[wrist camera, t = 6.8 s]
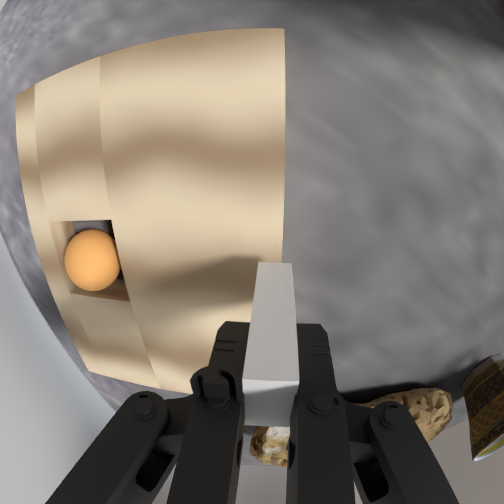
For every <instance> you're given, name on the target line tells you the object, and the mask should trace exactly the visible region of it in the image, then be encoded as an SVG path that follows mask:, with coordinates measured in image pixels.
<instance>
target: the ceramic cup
mask: <svg viewBox="0 0 504 504" xmlns="http://www.w3.org/2000/svg"><path fill="white" fill-rule="evenodd" d="M462 390H463V395H464V398H465V403H466V408H467V412H468V418H469V426H470V443H471V452H472V459H473V461H477V460H480V459H482V458H485V457H487V456H489V455H490V454H492V453H494V452H495V451H497V450H499V449H500V448H502V447H503V446H504V356H503V355H501V354H499V355H494V356H490V357H489V358H488V359H486V360H485V361H484V362H482V363H481V364H480V365H478V366H477V367H476V368H474V369H473V370H472V372H471V373H470V374H469V376H468V377H467V378H466V380H465V381H464V382H463V384H462Z"/></svg>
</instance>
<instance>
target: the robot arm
mask: <svg viewBox="0 0 504 504" xmlns="http://www.w3.org/2000/svg"><path fill="white" fill-rule="evenodd" d="M190 384H191V388H192V391H193V394H192V395H190V396H187V397H183V398H176V399H166V400H163V398H162V397H161V396H159V395H158V394H156V393H154V392H150V391H141V392H137V393H135V394H132V395H131V396H130V397H129V398H128V399H127V400H126V401H125V402H124V403H123V405H122V406H121V407H120V408H119V410H118V411H117V412H116V413H115V415H114V416H113V417H112V418H111V420H110V421H109V422H108V424H107V425H106V426H105V427H104V429H103V430H102V431H101V433H100V434H99V435H98V436H97V438H96V439H95V440H94V441H93V443H92V444H91V445H90V447H89V448H88V449H87V450H86V452H85V453H84V454H83V456H82V457H81V458H80V459H79V461H78V462H77V463H76V464H75V466H74V467H73V468H72V470H71V471H70V472H69V473H68V475H67V476H66V477H65V479H64V480H63V481H62V482H61V484H60V485H59V486H58V488H57V489H56V490H55V491H54V493H53V494H52V495H51V497H50V498H49V500H48V501H47V502H46V503H45V504H152V502H153V501H154V499H155V497H156V496H157V494H158V493H159V491H160V489H161V488H162V486H163V484H164V483H165V481H166V479H167V478H168V476H169V474H170V473H171V471H172V469H173V467H174V466H175V464H176V463H177V464H176V468H175V472H174V475H173V479H172V483H171V487H170V491H169V495H168V499H167V504H235V501H236V494H237V486H238V478H239V470H240V463H241V455H242V446H243V430H244V425H251V426H269V427H289V425H290V436H289V439H288V443H287V446H286V450H288V457H287V486H286V504H355V493H354V482H355V485H356V487H357V490H358V492H359V495H360V498H361V500H362V503H363V504H459V502H458V500H457V498H456V496H455V494H454V492H453V490H452V488H451V486H450V484H449V482H448V480H447V479H446V477H445V474H444V473H443V471H442V469H441V467H440V465H439V463H438V461H437V459H436V458H435V456H434V454H433V452H432V450H431V448H430V447H429V445H428V443H427V441H426V439H425V438H424V436H423V434H422V432H421V431H420V429H419V427H418V425H417V424H416V422H415V420H414V418H413V417H412V415H411V413H410V412H409V410H408V409H407V408H406V407H405V406H404V405H402V404H400V403H399V402H395V401H385V402H381V403H379V404H378V405H376V406H375V407H374V408H370V407H364V406H360V405H356V404H352V403H350V402H348V401H346V400H345V399H344V398H343V397H342V396H341V395H340V394H339V392H338V391H337V388H336V383H335V377H334V370H333V364H332V358H331V355H330V347H329V341H328V336H327V332H326V331H325V330H324V329H323V327H322V326H321V325H320V324H297V323H296V312H295V298H294V286H293V273H292V263H273V262H258V269H257V277H256V284H255V291H254V299H253V306H252V313H251V321H250V322H236V321H225V322H224V323H223V324H222V325H221V327H220V328H219V329H218V331H217V334H216V338H215V342H214V346H213V350H212V353H211V357H210V360H209V364H208V366H206V367H203V368H200V369H199V370H198V371H196V372H195V373H194V374H193V376H192V377H191V379H190Z"/></svg>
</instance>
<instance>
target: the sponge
mask: <svg viewBox="0 0 504 504" xmlns="http://www.w3.org/2000/svg"><path fill="white" fill-rule="evenodd" d="M385 401H395V402H399V403H400V404H402V405H404V406H405V407H406V408H407V409H408V410H409V412H410V413H411V415H412V417H413V418H414V420H415V422H416V424H417V425H418V427H419V429H420V431H421V432H422V434H423V436H424V438H425V439H426V441H427V443H428V442H429V441H431V440H432V439H433V438H434V437H436V436H437V435H438V434H439V433H440V432H441V431H442V430H443V429H444V428H445V426H446V425H447V424H448V423H449V421H450V420H451V419H452V416H451V410H452V405H453V404H452V398H451V394H450V393H448V392H446V391H444V390H441V389H438V388H419V389H412V390H409V391H403V392H398V393H392V394H389V395H385V396H382V397H380V398H378V399H375V400H372V401H371V402H369V403H364V404H358V403H352V404H356V405H360V406H364V407H370V408H374V407H375V406H376V405H378V404H379V403H381V402H385ZM289 436H290V425H289V427H269V426H257V427H256V429H255V432H254V435H253V437H252V438H251V444H250V450H249V451H250V454H251V456H256V459H257V460H259V461H261V462H262V463H264V464H267V465H276V466H282V467H287V457H288V450H286V446H287V443H288V439H289Z"/></svg>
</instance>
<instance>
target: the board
mask: <svg viewBox="0 0 504 504" xmlns="http://www.w3.org/2000/svg"><path fill="white" fill-rule="evenodd" d="M16 134H17V148H18V158H19V166H20V174H21V181H22V187H23V193H24V198H25V203H26V208H27V213H28V217H29V222H30V226H31V230H32V234H33V237H34V241H35V245H36V248H37V251H38V255H39V258H40V261H41V264H42V267H43V270H44V273H45V276H46V279H47V282H48V284H49V287H50V290H51V292H52V295H53V297H54V300H55V302H56V305H57V307H58V310H59V312H60V314H61V317H62V319H63V321H64V323H65V325H66V328H67V330H68V332H69V334H70V336H71V338H72V340H73V342H74V344H75V346H76V348H77V350H78V352H79V354H80V356H81V357H82V359H83V361H84V363H85V365H86V367H87V368H88V370H89V371H90V372H94V373H97V374H101V375H104V376H108V377H112V378H115V379H119V380H123V381H127V382H132V383H136V384H140V385H145V386H150V387H155V388H160V389H165V390H171V391H177V392H183V393H189V394H193V391H192V388H191V384H190V379H191V377H192V376H193V374H194V373H195V372H196V371H198V370H199V369H200V368H203V367H206V366H208V364H209V360H210V357H211V353H212V350H213V346H214V342H215V338H216V334H217V331H218V329H219V328H220V327H221V325H222V324H223V323H224V322H225V321H236V322H250V321H251V313H252V306H253V299H254V291H255V284H256V277H257V269H258V262H273V263H281V262H282V239H283V213H284V177H285V37H284V28H251V29H231V30H219V31H209V32H201V33H194V34H187V35H181V36H175V37H170V38H165V39H160V40H155V41H151V42H147V43H143V44H139V45H135V46H131V47H128V48H124V49H121V50H118V51H114V52H111V53H108V54H105V55H102V56H99V57H96V58H94V59H91V60H88V61H86V62H83V63H80V64H78V65H75V66H73V67H71V68H68V69H66V70H64V71H61V72H59V73H57V74H55V75H53V76H51V77H49V78H46V79H44V80H42V81H40V82H39V83H37V84H35V85H33V86H31V87H29V88H27V89H25V90H24V91H22V92H20V93H18V94H17V95H16ZM85 220H112V226H113V231H114V236H115V241H116V246H117V250H118V255H119V259H120V263H121V268H122V272H123V276H124V280H122V279H115V280H114V282H113V283H112V284H111V285H109V286H108V287H106V288H105V289H102V290H99V291H87V290H84V289H82V288H80V287H78V286H77V285H75V284H74V283H73V282H72V281H71V279H70V278H69V276H68V274H67V272H66V269H65V264H64V256H65V251H66V248H67V246H68V244H69V242H70V241H71V239H72V238H73V237H74V236H75V230H74V226H73V221H85Z"/></svg>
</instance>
